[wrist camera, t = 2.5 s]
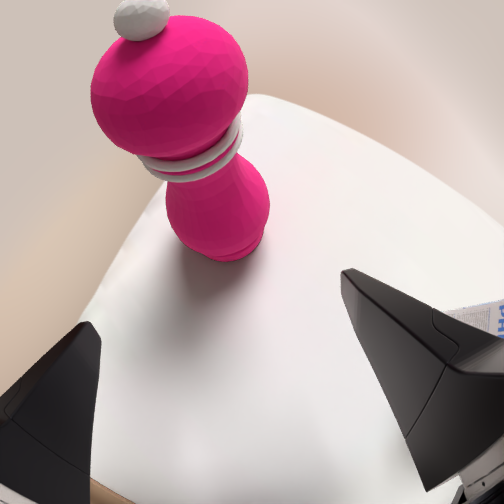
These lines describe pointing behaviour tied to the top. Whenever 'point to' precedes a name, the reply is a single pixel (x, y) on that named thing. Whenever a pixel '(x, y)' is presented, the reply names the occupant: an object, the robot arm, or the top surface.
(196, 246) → the pepper mill
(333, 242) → the top surface
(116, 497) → the track board
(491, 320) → the light bulb box
